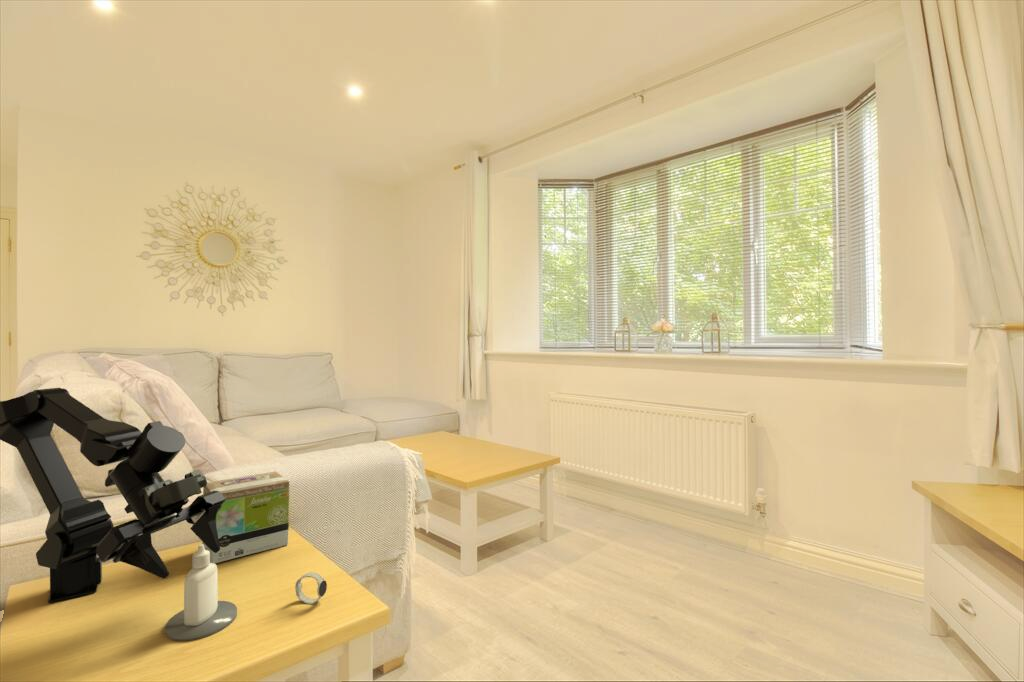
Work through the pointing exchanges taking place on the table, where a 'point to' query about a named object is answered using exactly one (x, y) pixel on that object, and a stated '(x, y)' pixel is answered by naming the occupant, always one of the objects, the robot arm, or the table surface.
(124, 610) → the table surface
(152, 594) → the table surface
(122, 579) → the table surface
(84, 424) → the robot arm
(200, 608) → the eye dropper bottle
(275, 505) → the tea box
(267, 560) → the table surface
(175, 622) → the charcoal coaster
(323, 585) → the wristwatch
